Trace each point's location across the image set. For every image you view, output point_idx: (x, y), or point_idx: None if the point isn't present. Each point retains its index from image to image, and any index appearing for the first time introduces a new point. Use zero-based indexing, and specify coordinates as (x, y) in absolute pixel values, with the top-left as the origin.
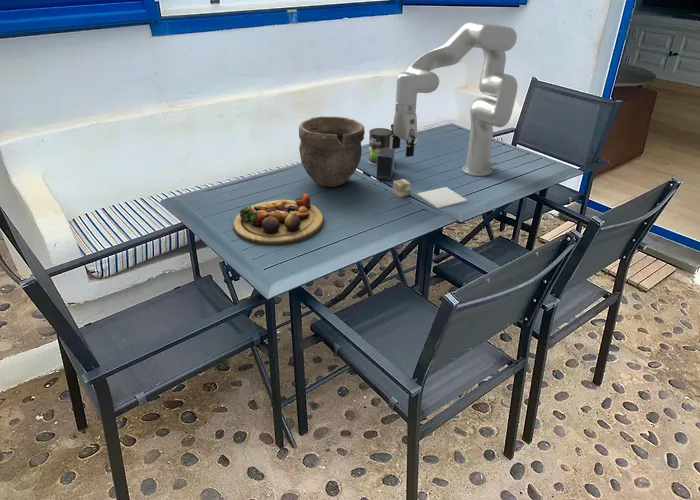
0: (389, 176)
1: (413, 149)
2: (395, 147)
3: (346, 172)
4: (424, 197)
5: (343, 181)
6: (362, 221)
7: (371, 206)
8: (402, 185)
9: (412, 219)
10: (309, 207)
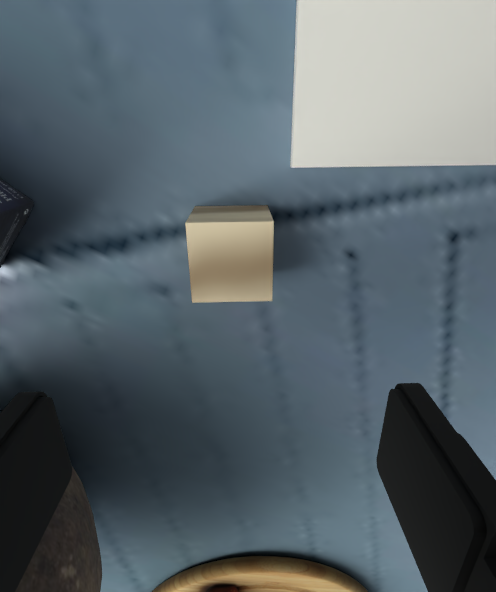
0: (19, 212)
1: (471, 464)
2: (59, 460)
3: (93, 537)
4: (360, 159)
5: (75, 472)
6: (378, 478)
7: (290, 413)
8: (272, 280)
9: (489, 334)
10: (234, 585)
